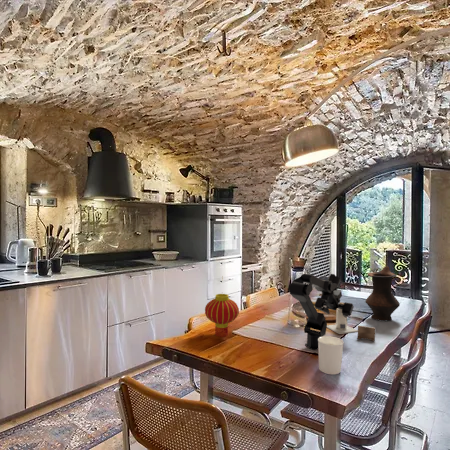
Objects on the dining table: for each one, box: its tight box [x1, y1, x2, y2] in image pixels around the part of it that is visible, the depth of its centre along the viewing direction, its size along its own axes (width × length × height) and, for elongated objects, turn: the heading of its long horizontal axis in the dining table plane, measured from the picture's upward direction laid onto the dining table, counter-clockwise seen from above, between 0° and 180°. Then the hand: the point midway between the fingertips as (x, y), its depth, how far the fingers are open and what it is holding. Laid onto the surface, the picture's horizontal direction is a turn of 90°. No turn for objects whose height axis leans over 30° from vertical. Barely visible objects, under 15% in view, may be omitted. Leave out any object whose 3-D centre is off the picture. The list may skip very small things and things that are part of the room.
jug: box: [365, 266, 400, 322], centre depth 209 cm, size 21×18×30 cm
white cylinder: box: [317, 335, 345, 375], centre depth 141 cm, size 10×10×12 cm
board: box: [326, 323, 358, 335], centre depth 190 cm, size 12×12×1 cm
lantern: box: [204, 275, 240, 337], centre depth 178 cm, size 17×17×30 cm
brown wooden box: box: [357, 324, 376, 342], centre depth 176 cm, size 8×4×6 cm, turn 66°
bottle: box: [335, 301, 348, 330], centre depth 189 cm, size 6×5×14 cm
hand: (337, 315), depth 185 cm, fingers open, 9 cm apart
